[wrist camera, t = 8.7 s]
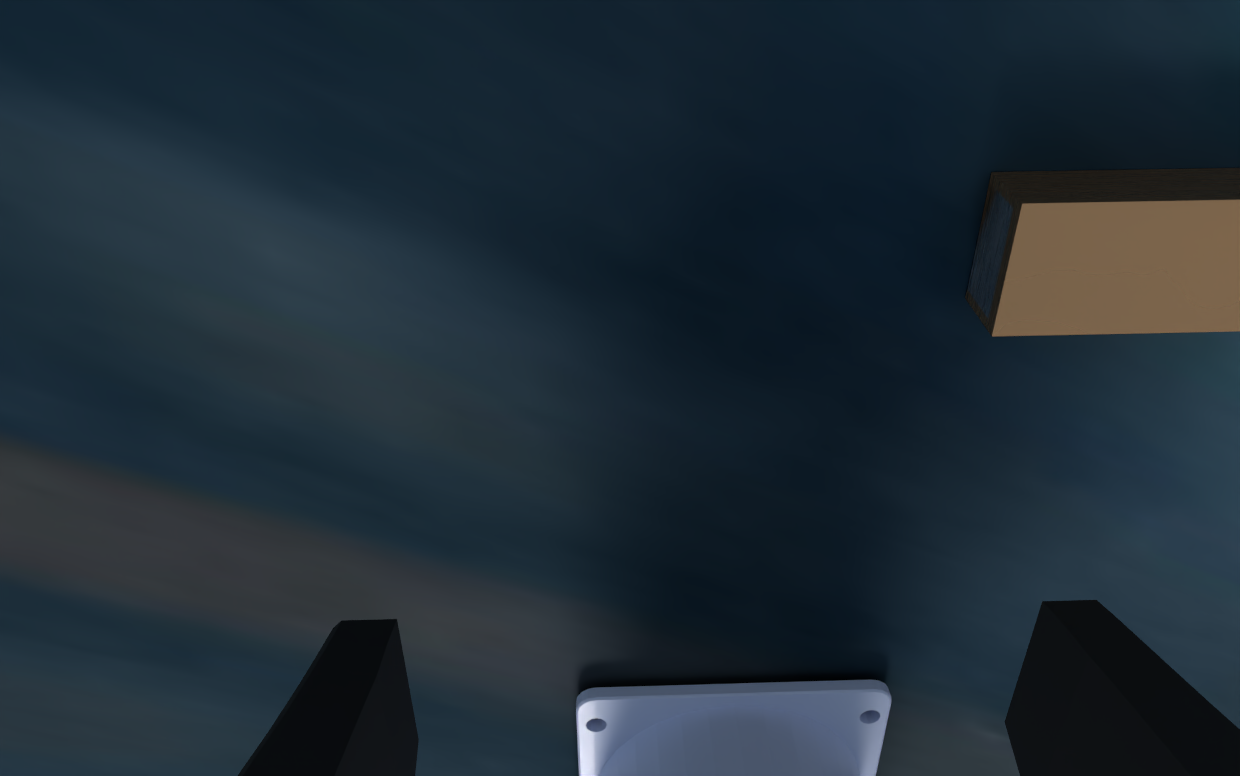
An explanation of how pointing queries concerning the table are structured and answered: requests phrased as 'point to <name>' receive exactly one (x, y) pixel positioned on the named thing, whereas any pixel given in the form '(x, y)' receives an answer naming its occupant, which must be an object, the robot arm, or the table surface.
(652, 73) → the table surface
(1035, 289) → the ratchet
